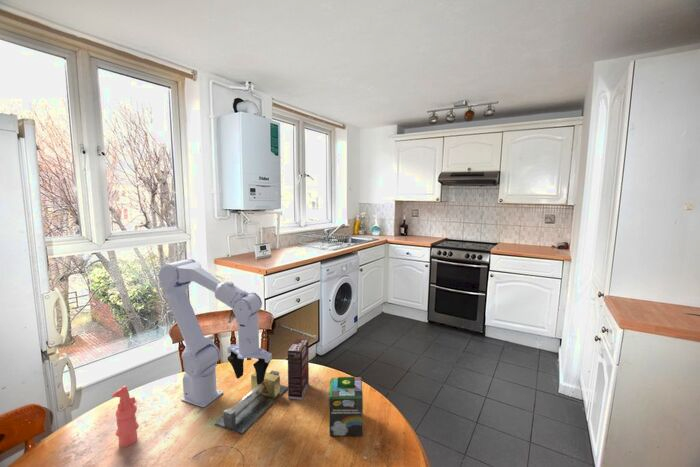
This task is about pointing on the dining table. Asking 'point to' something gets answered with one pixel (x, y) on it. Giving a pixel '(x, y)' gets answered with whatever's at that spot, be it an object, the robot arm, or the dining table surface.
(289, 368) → the supplement box
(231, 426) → the pipe stand
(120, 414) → the figurine
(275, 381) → the yellow block with hole
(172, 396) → the dining table surface
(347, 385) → the chalk box
